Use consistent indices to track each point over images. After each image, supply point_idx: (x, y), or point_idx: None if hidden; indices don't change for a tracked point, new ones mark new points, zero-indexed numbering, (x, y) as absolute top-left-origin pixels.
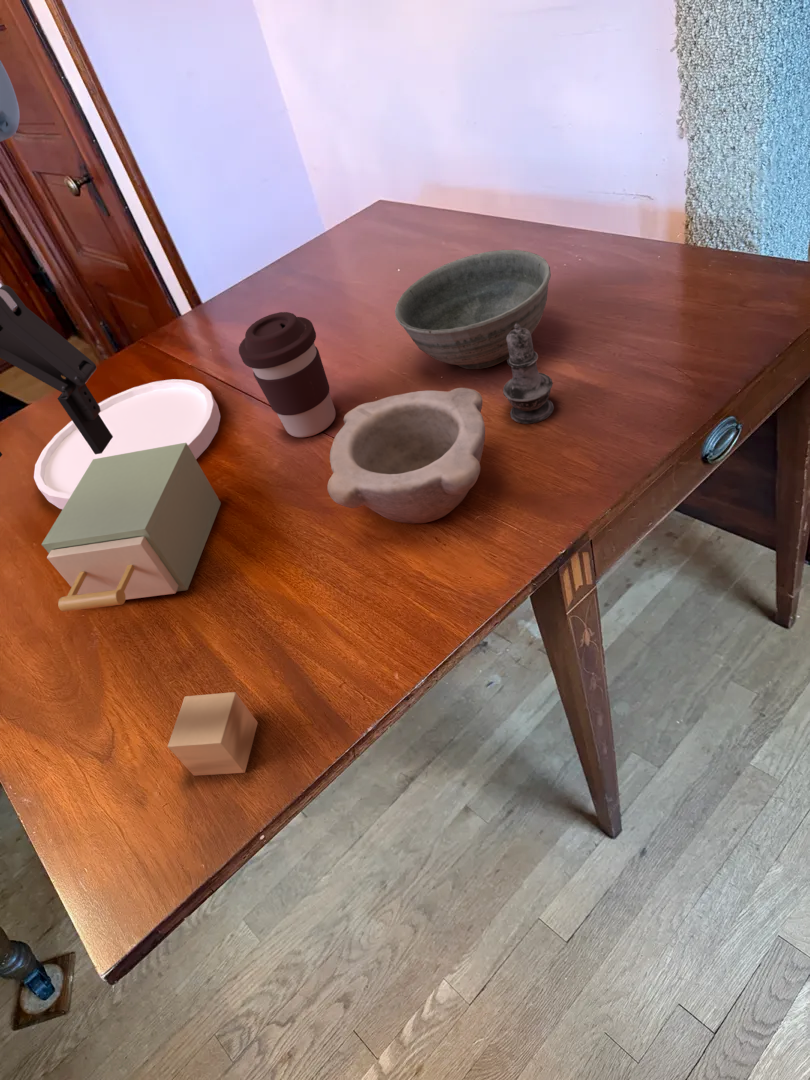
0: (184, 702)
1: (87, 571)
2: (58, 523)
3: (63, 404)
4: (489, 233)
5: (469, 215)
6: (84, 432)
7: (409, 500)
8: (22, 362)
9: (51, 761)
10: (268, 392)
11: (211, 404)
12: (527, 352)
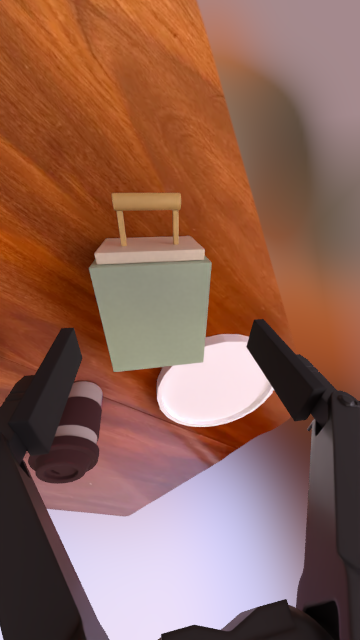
0: None
1: (170, 244)
2: (203, 289)
3: (30, 406)
4: (44, 501)
5: (66, 510)
6: (51, 354)
7: None
8: (4, 568)
9: (149, 9)
10: (82, 414)
11: (161, 408)
12: None
